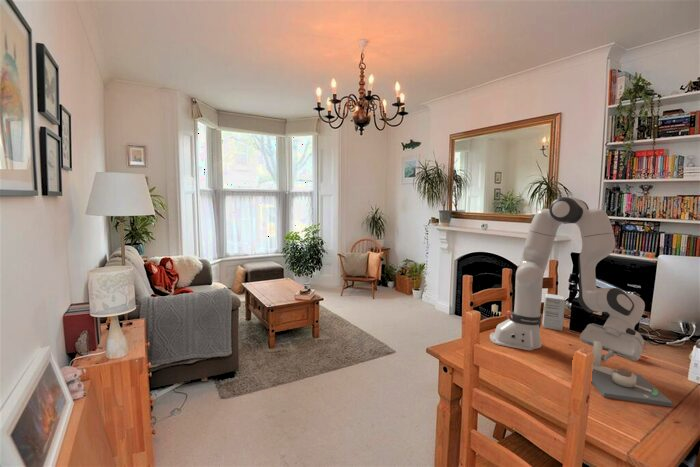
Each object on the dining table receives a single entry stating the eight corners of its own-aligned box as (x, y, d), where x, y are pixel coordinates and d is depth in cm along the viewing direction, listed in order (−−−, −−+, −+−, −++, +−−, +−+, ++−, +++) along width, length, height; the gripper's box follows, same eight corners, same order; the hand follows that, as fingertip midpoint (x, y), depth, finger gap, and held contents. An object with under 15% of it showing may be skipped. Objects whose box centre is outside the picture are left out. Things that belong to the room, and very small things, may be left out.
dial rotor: (654, 389, 127) (658, 356, 126) (648, 395, 123) (652, 361, 121) (594, 368, 141) (597, 338, 140) (587, 373, 137) (590, 342, 136)
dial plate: (603, 397, 124) (604, 392, 124) (581, 370, 143) (582, 366, 143) (672, 407, 119) (673, 401, 119) (640, 378, 138) (640, 373, 138)
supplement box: (542, 322, 201) (544, 293, 199) (561, 325, 197) (563, 295, 195) (542, 327, 192) (545, 297, 190) (562, 331, 188) (565, 299, 187)
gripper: (586, 317, 150) (570, 344, 146) (644, 334, 131) (627, 365, 128) (592, 326, 152) (576, 352, 149) (649, 344, 134) (632, 375, 130)
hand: (600, 358), depth 138 cm, fingers closed
